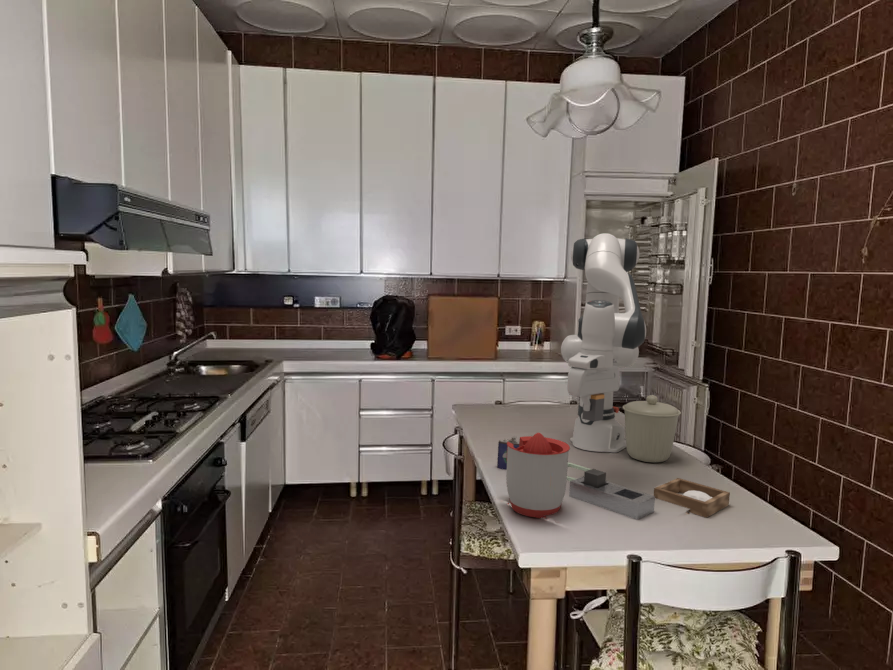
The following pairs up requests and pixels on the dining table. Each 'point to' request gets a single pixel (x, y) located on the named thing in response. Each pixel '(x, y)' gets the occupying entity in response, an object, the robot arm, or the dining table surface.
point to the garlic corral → (695, 506)
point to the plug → (595, 408)
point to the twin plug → (595, 478)
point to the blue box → (504, 451)
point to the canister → (650, 429)
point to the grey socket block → (614, 498)
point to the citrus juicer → (536, 475)
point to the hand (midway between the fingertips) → (593, 409)
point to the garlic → (697, 495)
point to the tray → (576, 468)
